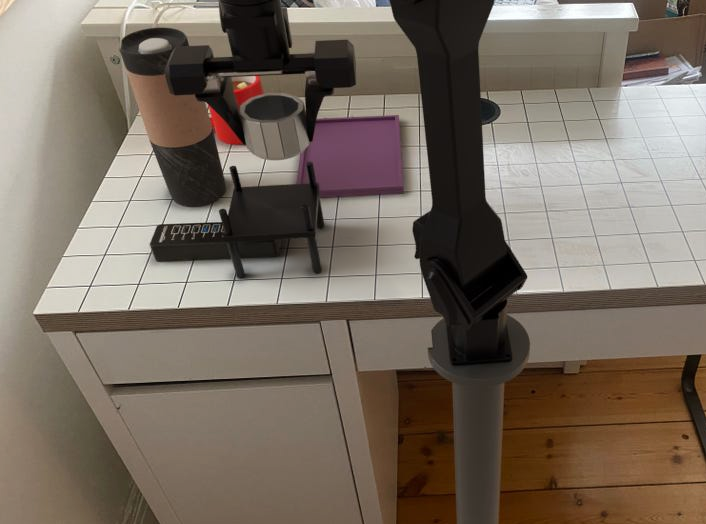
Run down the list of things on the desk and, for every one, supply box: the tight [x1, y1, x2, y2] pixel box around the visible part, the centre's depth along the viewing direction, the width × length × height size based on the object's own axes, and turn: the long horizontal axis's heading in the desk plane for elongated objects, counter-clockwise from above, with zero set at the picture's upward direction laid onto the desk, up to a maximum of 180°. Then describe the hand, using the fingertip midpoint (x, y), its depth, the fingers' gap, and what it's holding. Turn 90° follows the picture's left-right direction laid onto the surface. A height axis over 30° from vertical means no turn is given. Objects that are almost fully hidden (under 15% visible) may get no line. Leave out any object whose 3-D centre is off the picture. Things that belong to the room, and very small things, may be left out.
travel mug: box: [118, 26, 227, 207], centre depth 92 cm, size 8×8×20 cm
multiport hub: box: [149, 221, 282, 262], centre depth 90 cm, size 4×14×2 cm, turn 94°
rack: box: [218, 162, 325, 279], centre depth 87 cm, size 10×10×9 cm
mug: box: [207, 76, 264, 146], centre depth 108 cm, size 8×12×8 cm, turn 90°
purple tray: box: [295, 114, 404, 199], centre depth 105 cm, size 20×14×1 cm
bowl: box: [239, 92, 309, 161], centre depth 82 cm, size 7×7×5 cm
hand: (279, 141), depth 84 cm, fingers closed on bowl, 7 cm apart
